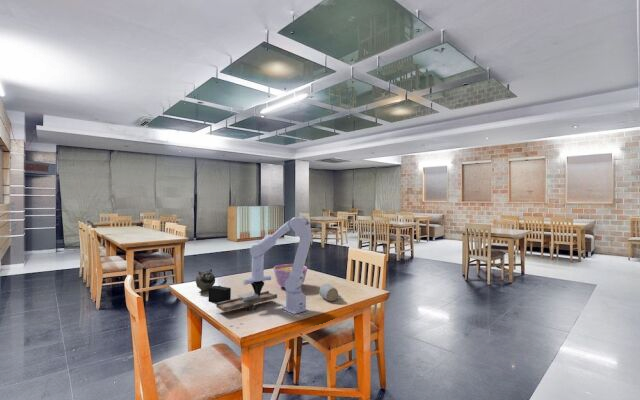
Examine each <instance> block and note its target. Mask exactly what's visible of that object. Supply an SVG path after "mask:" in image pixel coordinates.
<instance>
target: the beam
mask: <svg viewBox="0 0 640 400" xmlns="http://www.w3.org/2000/svg"><path fill="white" fill-rule="evenodd" d="M275 299H278V294H277V293H276V294H273V293H270V291H269V290H265V291H261V292H260V296H259V297H258V299H255V300H251V301H247V302H243V303H242V302H240V301H238V297H236V298H232V299H231V300H227V301H223V302H219V303H217V302H215V304H216V308H217V309H219V310H221V311H222V312H224V313H225V312H229V311H232V310H237V309H240V308H243V307H244V308H245V306H249V305H253V304H254V305H256V304H259V303H263V302H267V301H272V300H275Z"/></svg>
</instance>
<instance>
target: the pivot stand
mask: <svg viewBox="0 0 640 400" xmlns="http://www.w3.org/2000/svg"><path fill="white" fill-rule="evenodd" d="M244 308H246V309H247V310H249V311H251V312H253V311H256V304H253V305H249V306H245V307H244Z"/></svg>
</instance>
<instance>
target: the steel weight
mask: <svg viewBox="0 0 640 400" xmlns="http://www.w3.org/2000/svg"><path fill="white" fill-rule="evenodd" d="M237 298H238V301H240V302H242V303H243V302H247V301H251V300H255V299H258V294H256V293H255V292H253V291H252V292H248V293H243V294H239V295H238V297H237Z"/></svg>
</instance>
